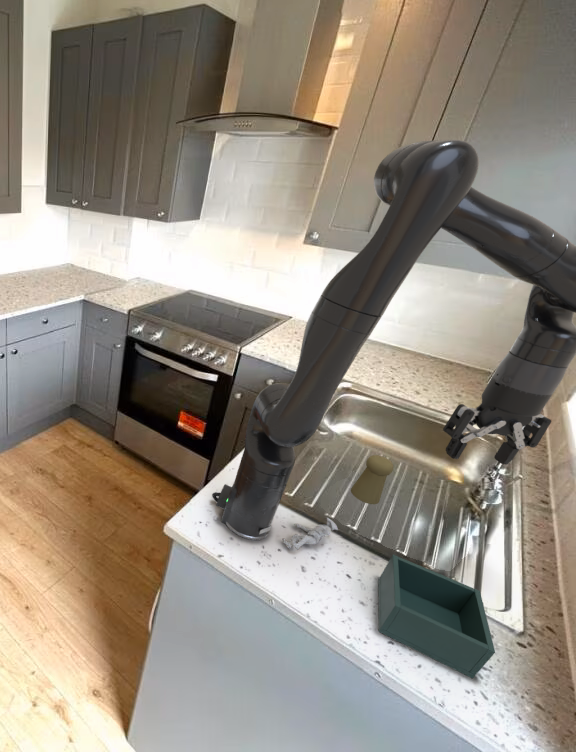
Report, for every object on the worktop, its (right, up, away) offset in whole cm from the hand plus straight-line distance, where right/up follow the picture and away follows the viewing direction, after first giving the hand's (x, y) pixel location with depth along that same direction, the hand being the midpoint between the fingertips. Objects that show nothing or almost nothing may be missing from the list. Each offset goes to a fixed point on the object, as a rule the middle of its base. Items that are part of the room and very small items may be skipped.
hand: (475, 458), depth 79 cm
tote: (-14, -28, -4) cm, 32 cm away
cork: (-3, -14, +25) cm, 29 cm away
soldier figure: (-25, -20, +11) cm, 34 cm away
